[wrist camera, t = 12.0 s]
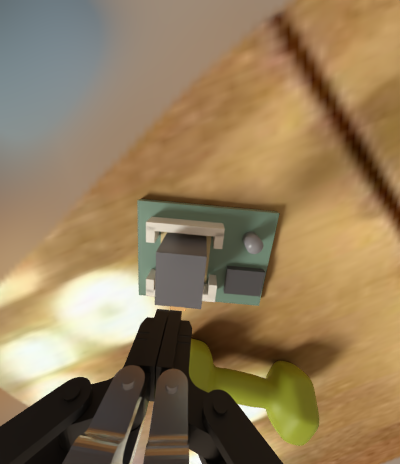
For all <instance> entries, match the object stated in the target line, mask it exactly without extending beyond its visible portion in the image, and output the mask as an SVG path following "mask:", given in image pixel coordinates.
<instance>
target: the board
mask: <svg viewBox="0 0 400 464" xmlns="http://www.w3.org/2000/svg"><path fill="white" fill-rule="evenodd" d="M278 218H279V213H278V212H276V211H267V210H256V209H245V208H235V207H224V206H213V205H202V204H191V203H181V202H170V201H159V200H148V199H139V200H138V270H139V295H146V296H154V297H155V273H156V251H157V249H158V248H159V246H160V244H161V242H162V241H163V239H164V237H165V235H166V234H167V232H171V233H182V234H193V235H203V236H206V240H207V260H206V269H205V277H204V286H203V295H202V301H209V302H224V303H236V304H247V305H258V306H259V303H260V298H261V294H262V289H263V285H264V280H265V276H266V271H267V267H268V262H269V258H270V253H271V249H272V245H273V240H274V236H275V231H276V227H277V222H278Z"/></svg>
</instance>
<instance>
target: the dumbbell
mask: <svg viewBox="0 0 400 464" xmlns="http://www.w3.org/2000/svg"><path fill="white" fill-rule="evenodd" d="M189 376H190V378H191V380H192V382H193V383H194V384H195V386H197V387H198V388H200V389H202V390H204V391H206V392H208V393H209V392H210V391H212V390H216V389H220V390H223V391H226V392H227V393H228V394H230V395H231V397H232V398H233V399H234V400H235V402H236V403H237V404H241V405H245V406H250V407H259V408H265V409H266V412H267V415H268V417H269V420H270V422H271V423H272V425H273V427H274V428H275V430H276V431H277V432H278V434H279V435H280V436H281V438H282V439H283V440H285V441H286V442H288V443H290V444H293V445H298V446H300V445H304V444H306V443H307V442H308V441H309V440H310V439H311V437H312V436H313V435H314V433H315V432H316V431H317V429H318V426H319V413H318V407H317V402H316V396H315V391H314V387H313V384H312V381H311V380H310V378H309V377H308V376H307V375H306V374H305V373H304V372H303V371H302V370H301V369H299V368H298V367H297V366H295V365H294V364H292V363H290V362H286V361H276V362H275V363H274V364H273V366H272V367H271V369H270V370H269V372H268V374H267V377H266V379H265V378H261V377H259V376H256V375H252V374H248V373H245V372H240V371H236V370H231V369H226V368H218V367H216V366H214V364H213V359H212V355H211V352H210V350H209V348H208V346H207V345H206V344H205V343H204V342H202V341H200V340H196V339H191V349H190V362H189Z"/></svg>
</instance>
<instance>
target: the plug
mask: <svg viewBox="0 0 400 464" xmlns="http://www.w3.org/2000/svg"><path fill="white" fill-rule="evenodd" d="M206 260H207V240H206V236H203V235H193V234H182V233H171V232H167V234H166V235H165V237H164V239H163V241H162V242H161V244H160V246H159V248H158V249H157V251H156V273H155V305H162V306H170V309H172V310H183V311H186V308H195V309H201V304H202V295H203V286H204V277H205V269H206Z"/></svg>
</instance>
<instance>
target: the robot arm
mask: <svg viewBox="0 0 400 464" xmlns="http://www.w3.org/2000/svg"><path fill="white" fill-rule="evenodd" d="M181 314H182V311H174V310H170V311H169V310H162V309H157V311H156V314H155V317H154V318H148V317H147V318H146V319H145V320H144V321H143V322H142V323H141V325H140V327H139V330H138V333H137V335H136V337H135V340H134V342H133V345H132V347H131V350H130V352H129V355H128V357H127V360H126V362H125V365H124V367H123V368H122V369H121V370H119V371H118V372H117V373H116V375H115V376H114V377H113V378H111V379H109V380H106V381H103V382H99V383H95V384H91V383H90V381H89V380H88V379H87V378H84V377H77V378H73V379H71V380H69V381H67V382H65V383H64V384H62V385H61V386H60V387H58V388H57V389H55V390H54V391H52V392H51V393H49V394H48V395H46V396H45V397H43V398H42V399H40V400H39V401H37V402H36V403H34V404H33V405H31V406H30V407H28V408H27V409H25V410H24V411H23V412H21V413H20V414H18V415H17V416H15V417H14V418H12V419H11V420H9V421H8V422H6V423H5V424H3V425H2V426H0V464H132V461H133V458H134V455H135V451H136V448H137V445H138V441H139V438H140V434H141V431H142V428H143V424H144V421H145V415H146V411H147V407H148V402H149V401H154V405H153V412H152V419H151V425H150V432H149V439H148V443H147V445H146V450H145V456H144V462H143V464H189V449H191V450H192V451H194V452H196V453H197V454H198V455H199V458H200V460H201V462H202V464H283V463H282V461H281V460H280V459H279V458H278V456H277V455H276V454H275V452H274V451H273V450H272V448H271V447H270V446H269V445H268V443H267V442H266V441H265V439H264V438H263V437H262V435H261V434H260V433H259V432H258V430H257V429H256V428H255V426H254V425H253V424H252V422H251V421H250V420H249V419H248V417H247V416H246V415H245V413H244V412H243V411H242V410H241V408H240V407H239V406H238V404H237V403H236V402H235V400H234V399H233V398H232V397H231V395H230V394H228V393H227V392H226V391H223V390H220V389H216V390H212V391H210V392H209V393H208V392H206V391H204V390H202V389H200V388H198V387H197V386H195V384H194V383H193V382H192V380H191V378H190V376H189V362H190V349H191V335H192V327H191V324H190V322H189V321H183V320H181Z"/></svg>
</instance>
